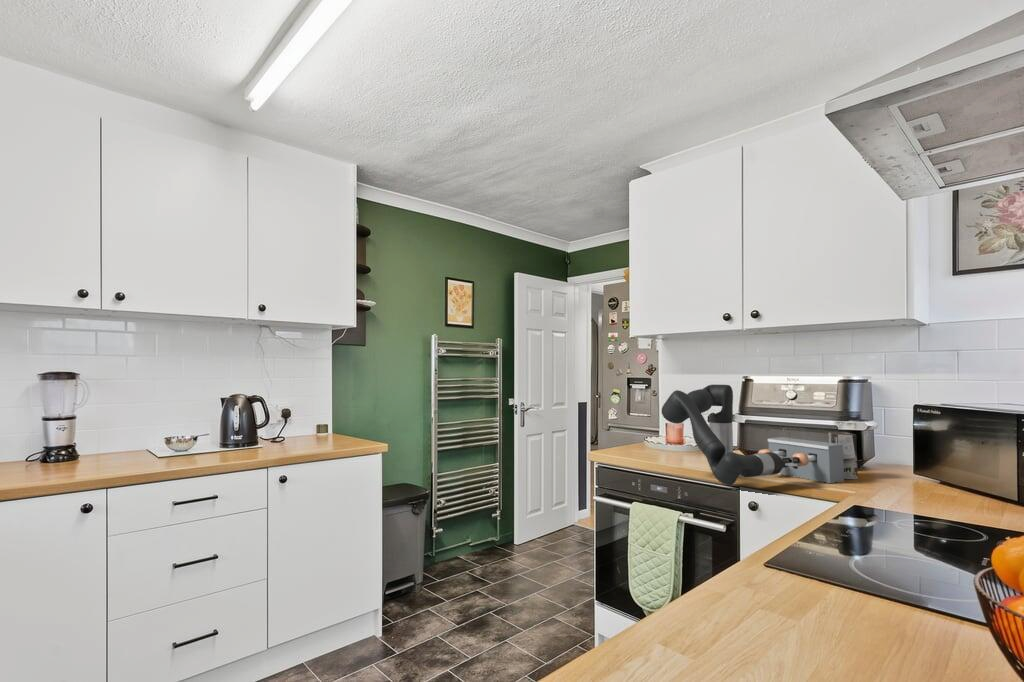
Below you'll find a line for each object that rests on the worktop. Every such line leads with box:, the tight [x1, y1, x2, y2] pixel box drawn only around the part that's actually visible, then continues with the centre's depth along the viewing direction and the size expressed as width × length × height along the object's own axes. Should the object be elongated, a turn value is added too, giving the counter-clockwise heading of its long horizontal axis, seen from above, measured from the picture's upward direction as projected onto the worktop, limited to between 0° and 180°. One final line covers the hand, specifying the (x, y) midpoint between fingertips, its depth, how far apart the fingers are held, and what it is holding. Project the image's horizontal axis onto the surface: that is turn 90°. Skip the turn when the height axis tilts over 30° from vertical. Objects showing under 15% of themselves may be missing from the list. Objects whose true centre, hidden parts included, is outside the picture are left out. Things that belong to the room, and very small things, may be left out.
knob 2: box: [792, 453, 817, 466], centre depth 192 cm, size 4×12×4 cm, turn 117°
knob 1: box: [757, 448, 787, 456], centre depth 202 cm, size 4×12×4 cm, turn 117°
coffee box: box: [828, 431, 859, 480], centre depth 200 cm, size 9×6×16 cm
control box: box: [767, 436, 845, 484], centre depth 200 cm, size 24×8×13 cm, turn 27°
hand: (797, 460), depth 189 cm, fingers closed
